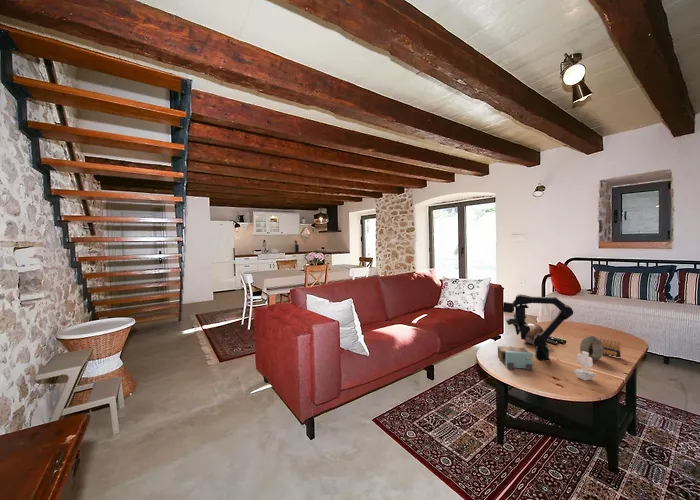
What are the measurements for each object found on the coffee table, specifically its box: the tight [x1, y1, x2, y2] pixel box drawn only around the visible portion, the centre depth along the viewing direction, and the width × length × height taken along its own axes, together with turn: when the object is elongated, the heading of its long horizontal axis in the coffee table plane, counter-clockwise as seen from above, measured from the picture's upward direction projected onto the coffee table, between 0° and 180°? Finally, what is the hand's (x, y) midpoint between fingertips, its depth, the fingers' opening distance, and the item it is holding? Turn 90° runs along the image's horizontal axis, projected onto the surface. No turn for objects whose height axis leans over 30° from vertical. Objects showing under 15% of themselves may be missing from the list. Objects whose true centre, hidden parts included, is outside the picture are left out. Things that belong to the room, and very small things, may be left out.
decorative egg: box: [579, 335, 604, 361], centre depth 184 cm, size 12×12×15 cm
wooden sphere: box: [523, 322, 544, 345], centre depth 213 cm, size 15×15×15 cm
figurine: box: [572, 351, 597, 382], centre depth 161 cm, size 7×9×15 cm
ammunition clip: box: [599, 336, 621, 357], centre depth 189 cm, size 11×2×12 cm, turn 41°
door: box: [505, 351, 534, 369], centre depth 175 cm, size 14×4×9 cm, turn 76°
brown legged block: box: [497, 345, 534, 372], centre depth 181 cm, size 16×18×7 cm
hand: (519, 336), depth 194 cm, fingers open, 9 cm apart
